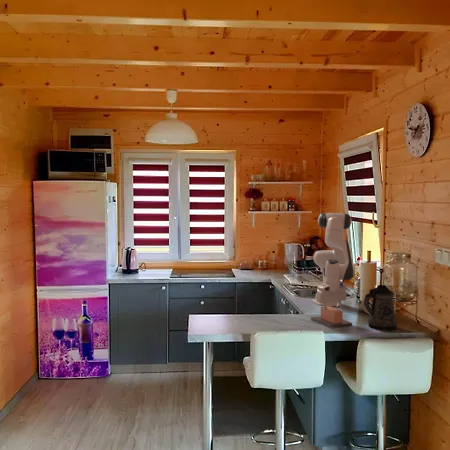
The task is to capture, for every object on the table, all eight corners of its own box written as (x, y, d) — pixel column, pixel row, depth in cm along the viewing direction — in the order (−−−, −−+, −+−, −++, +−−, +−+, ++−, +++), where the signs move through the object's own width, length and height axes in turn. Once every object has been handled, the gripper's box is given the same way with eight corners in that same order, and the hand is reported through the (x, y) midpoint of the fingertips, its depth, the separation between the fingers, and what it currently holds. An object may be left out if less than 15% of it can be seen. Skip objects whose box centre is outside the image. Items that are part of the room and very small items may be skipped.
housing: (320, 317, 291) (320, 306, 291) (328, 317, 294) (328, 306, 293) (334, 323, 278) (334, 311, 278) (342, 322, 281) (342, 311, 280)
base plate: (310, 319, 292) (311, 311, 292) (332, 317, 298) (332, 309, 298) (330, 328, 274) (330, 319, 273) (352, 325, 280) (352, 317, 280)
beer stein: (402, 327, 276) (403, 286, 275) (385, 333, 263) (386, 290, 262) (376, 322, 289) (378, 282, 287) (359, 327, 276) (360, 285, 274)
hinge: (380, 316, 303) (375, 302, 302) (373, 319, 303) (368, 304, 302) (370, 310, 320) (365, 296, 319) (363, 312, 319) (359, 299, 318)
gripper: (342, 284, 292) (342, 306, 293) (315, 286, 284) (314, 309, 285) (349, 286, 286) (348, 308, 287) (321, 288, 278) (320, 311, 279)
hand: (331, 308), depth 286 cm, fingers open, 8 cm apart
